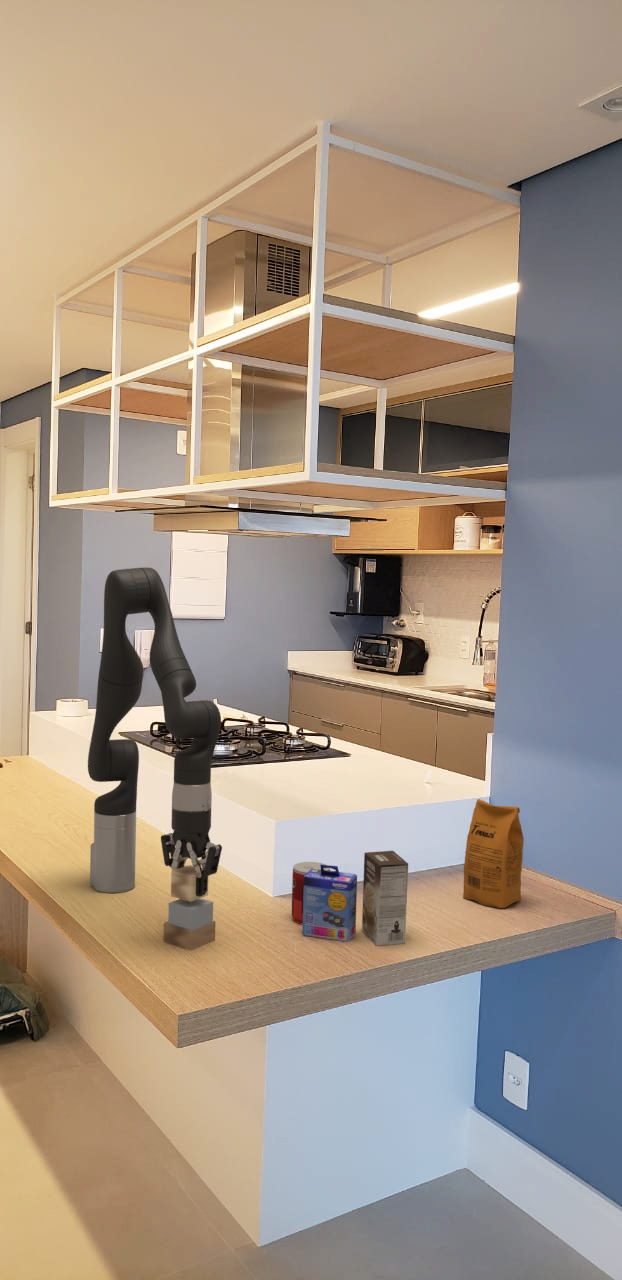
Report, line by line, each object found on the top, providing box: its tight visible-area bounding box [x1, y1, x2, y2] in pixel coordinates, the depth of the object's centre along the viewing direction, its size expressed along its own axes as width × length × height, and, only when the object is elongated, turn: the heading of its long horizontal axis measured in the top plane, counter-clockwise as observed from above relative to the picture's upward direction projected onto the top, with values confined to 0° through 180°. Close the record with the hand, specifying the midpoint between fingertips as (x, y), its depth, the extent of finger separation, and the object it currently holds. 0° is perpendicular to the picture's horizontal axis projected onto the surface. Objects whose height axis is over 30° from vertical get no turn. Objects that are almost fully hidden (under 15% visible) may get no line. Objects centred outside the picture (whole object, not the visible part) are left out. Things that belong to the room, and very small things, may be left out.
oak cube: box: [170, 864, 209, 902], centre depth 191 cm, size 5×5×5 cm
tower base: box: [162, 920, 216, 951], centre depth 192 cm, size 7×7×4 cm
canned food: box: [291, 861, 331, 925], centre depth 206 cm, size 8×8×11 cm
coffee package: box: [462, 798, 525, 909], centre depth 221 cm, size 10×12×22 cm
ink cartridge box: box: [301, 864, 358, 942], centre depth 197 cm, size 10×6×14 cm, turn 73°
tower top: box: [167, 897, 214, 931], centre depth 191 cm, size 6×6×4 cm
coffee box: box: [361, 850, 409, 946], centre depth 197 cm, size 9×6×16 cm
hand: (189, 892), depth 191 cm, fingers closed on oak cube, 5 cm apart
